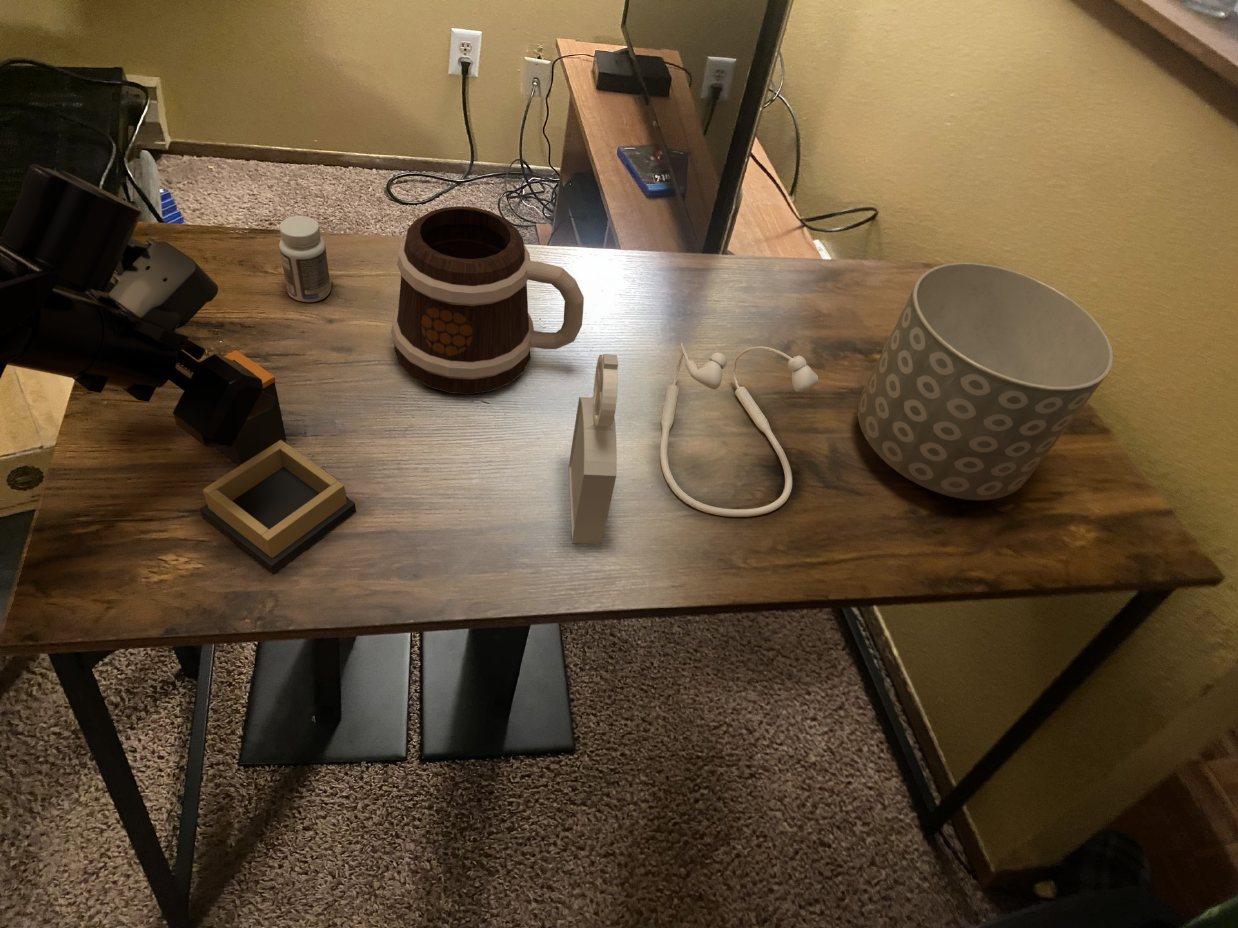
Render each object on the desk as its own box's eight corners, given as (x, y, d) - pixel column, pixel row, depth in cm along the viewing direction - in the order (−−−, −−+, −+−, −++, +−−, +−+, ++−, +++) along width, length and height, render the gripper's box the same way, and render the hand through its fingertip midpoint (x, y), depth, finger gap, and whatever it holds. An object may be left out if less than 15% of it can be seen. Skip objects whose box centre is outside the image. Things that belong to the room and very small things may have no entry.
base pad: (273, 574, 69) (266, 547, 66) (202, 517, 72) (192, 489, 69) (356, 511, 75) (353, 484, 72) (287, 461, 77) (281, 433, 75)
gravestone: (596, 468, 83) (623, 323, 70) (601, 544, 76) (632, 400, 63) (568, 466, 82) (590, 321, 69) (571, 543, 76) (596, 398, 63)
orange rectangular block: (242, 468, 76) (224, 405, 70) (205, 441, 78) (185, 376, 72) (287, 439, 79) (274, 376, 73) (251, 413, 81) (235, 349, 75)
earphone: (765, 347, 94) (834, 346, 76) (756, 493, 96) (822, 525, 78) (647, 342, 91) (690, 340, 73) (640, 492, 93) (681, 525, 76)
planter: (820, 397, 95) (880, 262, 82) (962, 388, 100) (1039, 260, 87) (894, 527, 83) (978, 394, 70) (1051, 510, 88) (1156, 383, 75)
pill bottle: (336, 282, 96) (329, 218, 90) (322, 306, 93) (313, 241, 87) (296, 275, 96) (285, 210, 90) (280, 299, 93) (268, 233, 87)
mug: (375, 387, 86) (365, 263, 75) (411, 300, 96) (407, 181, 85) (567, 418, 87) (584, 300, 76) (582, 329, 97) (599, 215, 86)
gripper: (214, 295, 55) (356, 347, 70) (44, 181, 61) (209, 252, 75) (137, 440, 56) (293, 461, 71) (-24, 315, 62) (152, 359, 76)
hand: (236, 378), depth 73 cm, fingers open, 9 cm apart
